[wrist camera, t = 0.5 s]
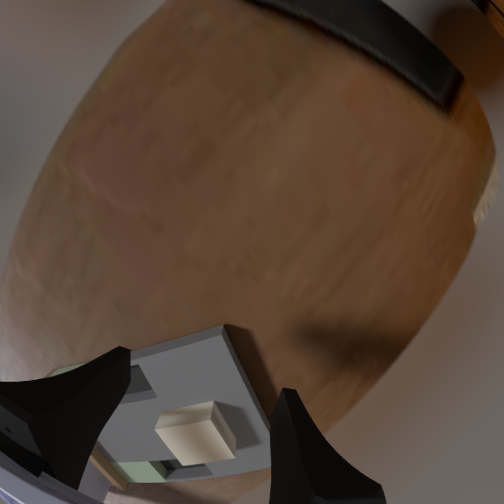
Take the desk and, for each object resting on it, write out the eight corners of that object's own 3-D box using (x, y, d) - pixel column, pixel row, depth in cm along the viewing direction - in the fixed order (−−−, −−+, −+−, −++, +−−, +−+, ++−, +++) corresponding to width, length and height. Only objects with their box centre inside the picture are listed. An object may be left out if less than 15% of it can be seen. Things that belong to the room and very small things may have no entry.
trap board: (126, 471, 26) (119, 490, 22) (51, 370, 23) (34, 386, 20) (283, 450, 25) (286, 474, 21) (223, 323, 23) (219, 343, 19)
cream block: (187, 447, 22) (182, 465, 20) (161, 411, 22) (154, 429, 19) (236, 438, 22) (235, 457, 20) (213, 400, 21) (210, 419, 19)
